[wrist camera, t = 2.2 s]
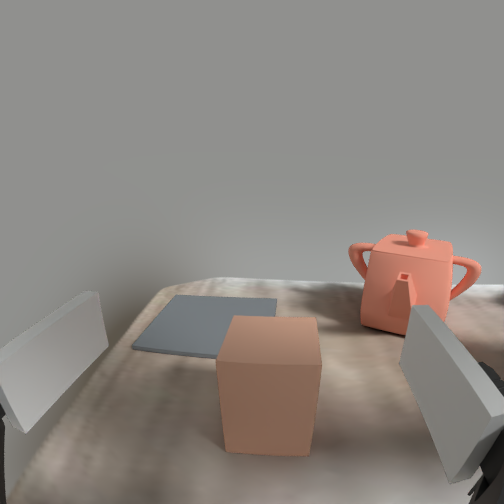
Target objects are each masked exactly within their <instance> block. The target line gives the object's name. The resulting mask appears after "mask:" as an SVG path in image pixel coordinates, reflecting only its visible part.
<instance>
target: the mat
mask: <svg viewBox="0 0 504 504" xmlns="http://www.w3.org/2000/svg"><path fill="white" fill-rule="evenodd" d="M276 304H277V299H272V298H238V297H212V296H191V295H175V296H174V298H173V299H172V300H171V301H170V302H169V303H168V304H167V306H166V307H165V308H164V309H163V310H162V311H161V312H160V313H159V315H158V316H157V317H156V318H155V319H154V320H153V322H152V323H151V324H150V325H149V326H148V327H147V328H146V330H145V331H144V332H143V333H142V334H141V335H140V337H139V338H138V339H137V340H136V341H135V342H134V343H133V345H132V348H133V349H136V350H142V351H150V352H157V353H165V354H174V355H183V356H192V357H203V358H214V359H217V356H218V354H219V351H220V349H221V346H222V344H223V341H224V339H225V336H226V334H227V331H228V329H229V326H230V324H231V321H232V318H233V316H234V315H237V316H264V317H275V312H276Z"/></svg>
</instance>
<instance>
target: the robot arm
mask: <svg viewBox="0 0 504 504" xmlns="http://www.w3.org/2000/svg"><path fill="white" fill-rule="evenodd" d="M108 346H109V343H108V339H107V335H106V330H105V326H104V321H103V316H102V311H101V306H100V300H99V294H98V292H94V291H84V292H82V293H81V294H79V295H77V296H76V297H74V298H73V299H71V300H70V301H68V302H67V303H65V304H64V305H62V306H61V307H59V308H58V309H56V310H55V311H53V312H52V313H50V314H49V315H47V316H46V317H44V318H43V319H42V320H40V321H39V322H37V323H36V324H34V325H33V326H31V327H30V328H29V329H27V330H26V331H24V332H23V333H21V334H20V335H18V336H17V337H16V338H14V339H13V340H11V341H10V342H9V343H7V344H6V345H4V346H3V347H2V348H0V504H6V495H5V479H4V435H5V425H4V422H3V420H2V419H1V418H2V417H3V416H4V415H5V414H6V416H7V417H8V419H9V421H10V423H11V425H12V427H14V428H16V429H18V430H19V431H21V432H23V433H25V434H26V433H27V432H28V431H29V430H30V429H31V428H32V427H33V426H34V425H35V423H36V422H37V421H38V420H39V419H40V418H41V417H42V416H43V414H45V412H46V411H47V410H48V409H49V408H50V407H51V406H52V405H53V404H54V403H55V402H56V401H57V400H58V398H59V397H60V396H61V395H62V394H63V393H64V392H65V391H66V390H67V389H68V388H69V387H70V386H71V385H72V384H73V383H74V381H75V380H76V379H77V378H78V377H79V376H80V375H81V374H82V373H83V372H84V371H85V370H86V369H87V368H88V367H89V366H90V365H91V364H92V363H93V362H94V360H96V358H97V357H98V356H99V355H100V354H101V353H102V352H103V351H104V350H105V349H106V348H107V347H108ZM399 364H400V366H401V369H402V371H403V373H404V375H405V377H406V379H407V381H408V384H409V386H410V388H411V390H412V392H413V395H414V397H415V399H416V401H417V404H418V406H419V408H420V411H421V413H422V415H423V417H424V420H425V422H426V425H427V427H428V429H429V432H430V434H431V437H432V439H433V442H434V444H435V447H436V449H437V452H438V454H439V457H440V459H441V462H442V465H443V467H444V470H445V473H446V476H447V478H448V481H449V484H452V483H456V482H459V481H463V480H466V479H469V478H471V477H472V476H473V474H474V473H475V471H476V470H477V469H478V467H479V466H480V467H481V469H482V471H483V475H482V476H481V478H480V479H479V480H478V481H477V483H476V484H475V485H474V487H473V488H472V489H471V490H470V492H469V493H468V494H467V495H469V496H470V495H471V494H472V493H473V492H474V493H473V495H472V498H471V500H470V502H469V504H504V382H503V381H502V380H500V377H499V376H498V374H497V373H496V372H495V371H494V370H493V369H492V368H491V367H489V366H488V365H486V364H485V363H483V362H478V363H477V361H476V360H475V359H474V358H473V356H472V355H471V354H470V353H469V352H468V350H467V349H466V348H465V347H464V345H463V344H462V343H461V342H460V341H459V339H458V338H457V337H456V336H455V335H454V334H453V332H452V331H451V330H450V329H449V328H448V327H447V325H446V324H445V323H444V322H443V321H442V320H441V318H440V317H439V316H438V315H437V314H436V313H435V312H434V311H433V309H432V308H431V307H430V306H429V305H412V307H411V312H410V317H409V322H408V327H407V332H406V336H405V341H404V345H403V349H402V353H401V358H400V361H399Z"/></svg>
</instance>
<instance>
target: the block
mask: <svg viewBox="0 0 504 504" xmlns="http://www.w3.org/2000/svg"><path fill="white" fill-rule="evenodd" d="M321 369H322V361H321V353H320V344H319V337H318V329H317V321H316V317H264V316H237V315H234V316H233V318H232V321H231V324H230V326H229V329H228V331H227V334H226V336H225V339H224V341H223V344H222V346H221V349H220V351H219V354H218V356H217V359H216V370H217V380H218V390H219V399H220V408H221V417H222V426H223V434H224V442H225V450H226V452H234V453H244V454H257V455H275V456H309V453H310V447H311V441H312V435H313V429H314V422H315V415H316V408H317V401H318V394H319V386H320V378H321Z"/></svg>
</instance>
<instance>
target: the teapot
mask: <svg viewBox="0 0 504 504" xmlns="http://www.w3.org/2000/svg"><path fill="white" fill-rule="evenodd" d="M406 234H407V236H405V235H397V234H390V235H388V236H386V237H384V238H383V239H382V240H380V241H379V242H378V243H377V244H371V243H356V244H353V245H351V246H350V248H349V256H350V259H351V261H352V263H353V265H354V267H355V268H356V269H357V271H358V272H359V273H360V275H361V276H362V277H363V278H364V279H365V284H364V290H363V296H362V302H361V324H362V325H364V326H367V327H371V328H375V329H380V330H384V331H388V332H393V333H397V334H402V335H406V332H407V327H408V322H409V317H410V312H411V307H412V305H429V306H430V307H431V308H432V309H433V311H434V312H435V313H436V314H437V315H438V316H439V317H440V318H441V320H442V321H443V322H444V321H445V318H446V314H447V311H448V306H449V301H450V300H451V299H453V298H455V297H456V296H458V295H460V294H461V293H462V292H464V291H465V290H467V289H468V288H469V287H471V286H472V285H473V284H474V283H475V282H476V280H477V279H478V278H479V276H480V274H481V266H480V265H479V263H477V262H476V261H474V260H471V259H468V258H464V257H459V256H453V248H452V244H451V243H450V242H446V241H440V240H433V239H427V236H428V233H427V232H425V231H421V230H408V231H406ZM364 251H371V254H370V259H369V264H368V268H367V266H366V264H365V262H364V259H363V256H362V253H363V252H364ZM453 264H457V265H461V266H464V267H466V268H467V273H466V275H465V276H464V278H463V279H462V280H461V281H460V283H459V284H458V285H457V286H456V287H454V288H453V289H452V290H451V286H452V272H453Z"/></svg>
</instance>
